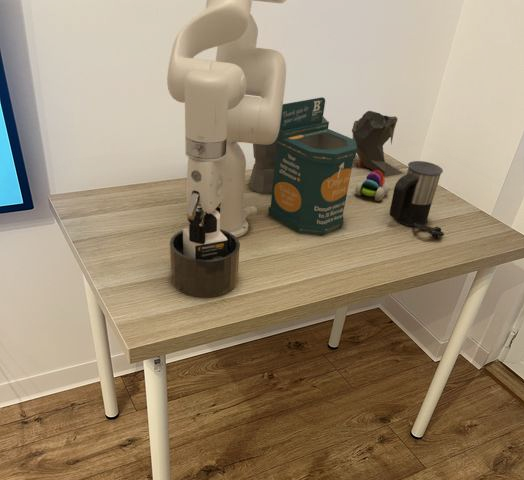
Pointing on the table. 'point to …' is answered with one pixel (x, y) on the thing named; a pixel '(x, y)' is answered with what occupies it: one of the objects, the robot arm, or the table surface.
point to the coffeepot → (263, 168)
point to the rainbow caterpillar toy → (373, 186)
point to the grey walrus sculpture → (374, 141)
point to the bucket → (204, 269)
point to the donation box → (310, 170)
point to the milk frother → (416, 196)
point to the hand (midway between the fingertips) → (205, 232)
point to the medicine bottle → (207, 240)
